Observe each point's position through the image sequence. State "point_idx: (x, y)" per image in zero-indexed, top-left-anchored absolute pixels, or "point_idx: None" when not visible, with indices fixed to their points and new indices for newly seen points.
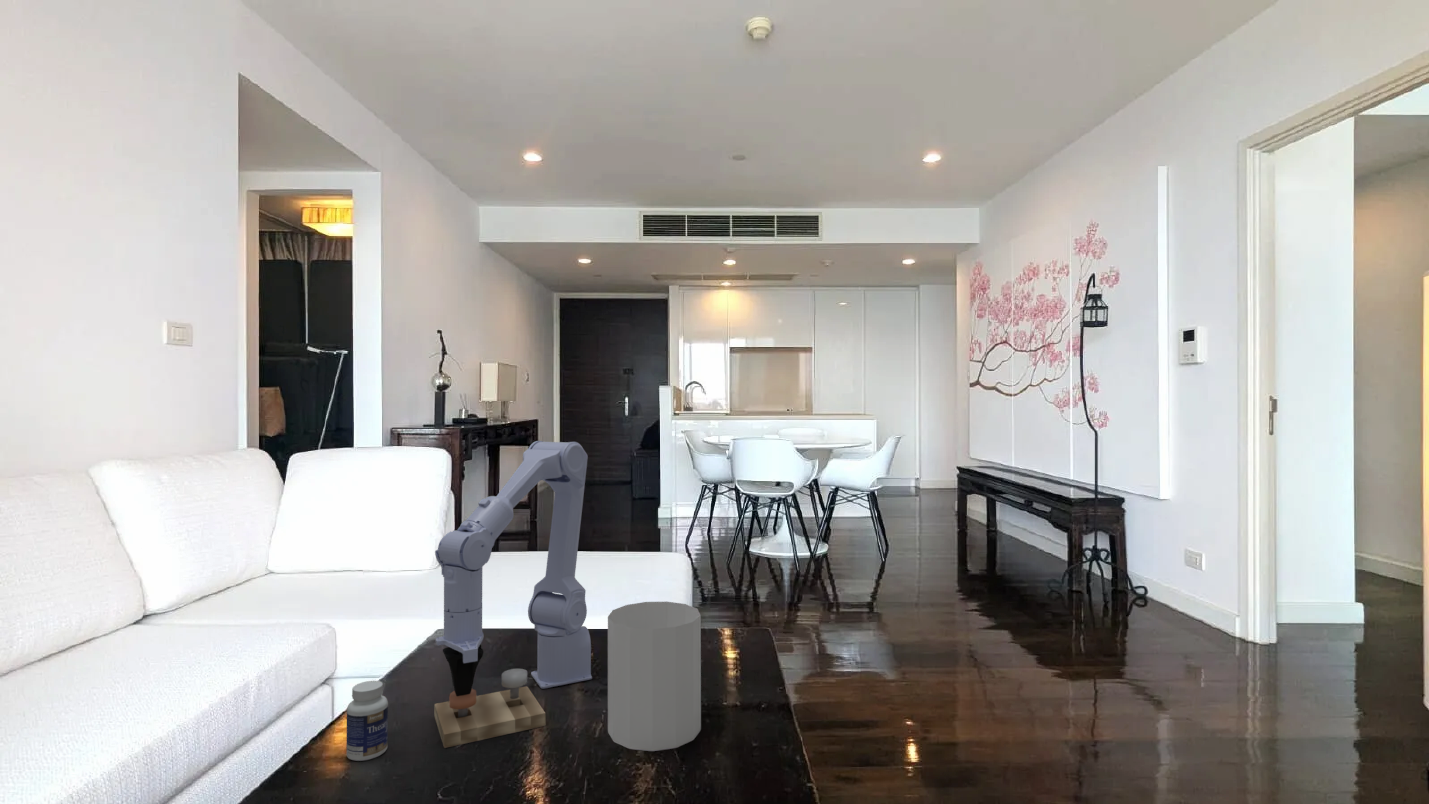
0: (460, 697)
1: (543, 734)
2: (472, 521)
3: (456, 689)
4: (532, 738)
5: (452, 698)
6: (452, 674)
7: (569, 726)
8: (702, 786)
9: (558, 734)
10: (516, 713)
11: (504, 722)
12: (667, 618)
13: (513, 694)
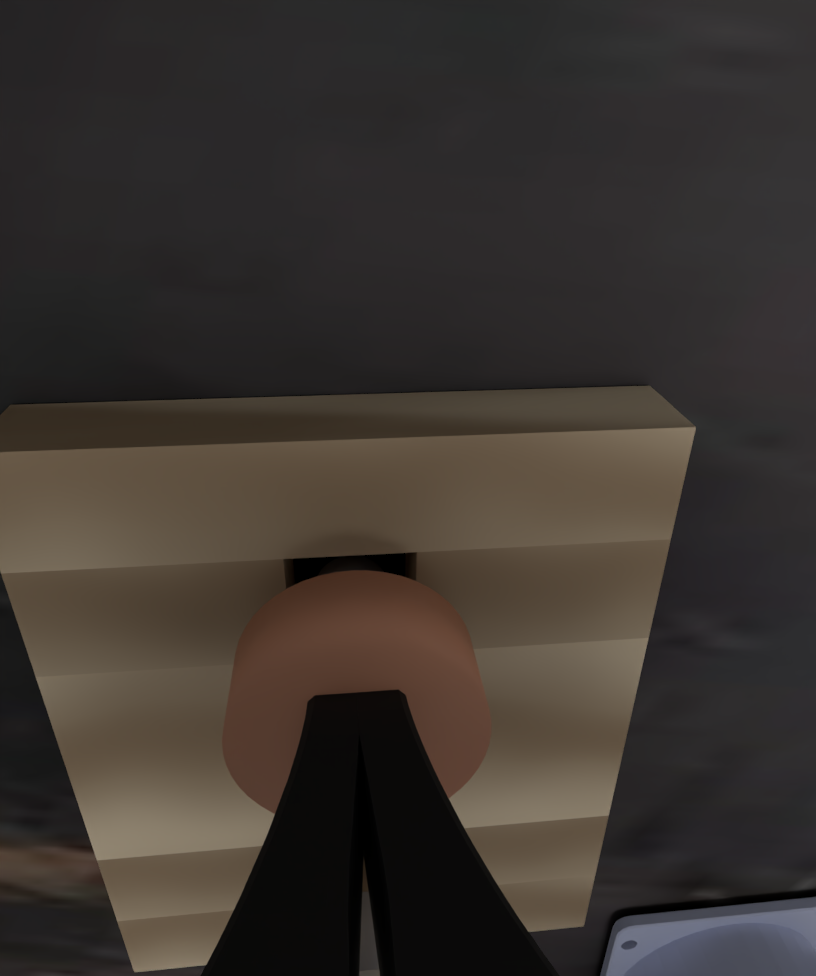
0: (265, 722)
1: (45, 882)
2: None
3: (294, 760)
4: (9, 842)
5: (278, 659)
6: (250, 944)
7: (103, 965)
8: None
9: (22, 928)
10: (192, 869)
11: (81, 810)
12: None
13: None
